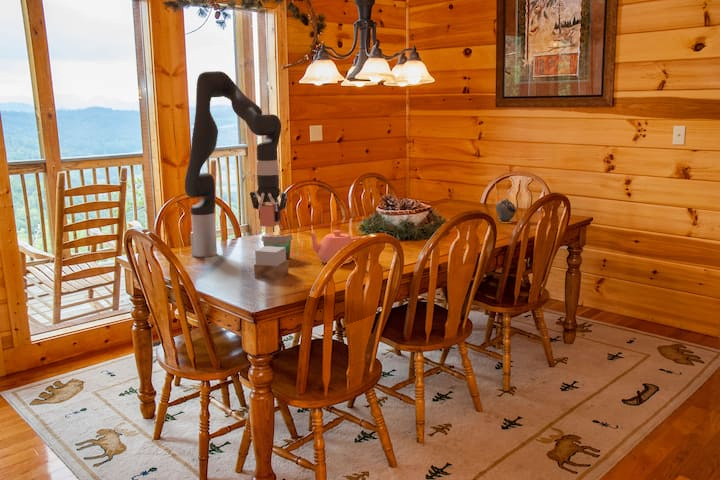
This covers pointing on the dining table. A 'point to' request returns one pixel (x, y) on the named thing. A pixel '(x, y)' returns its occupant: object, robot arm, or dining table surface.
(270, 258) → the top slab
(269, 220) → the red block
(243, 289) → the dining table surface
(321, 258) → the teapot
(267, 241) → the food container
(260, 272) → the bottom slab
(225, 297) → the dining table surface
